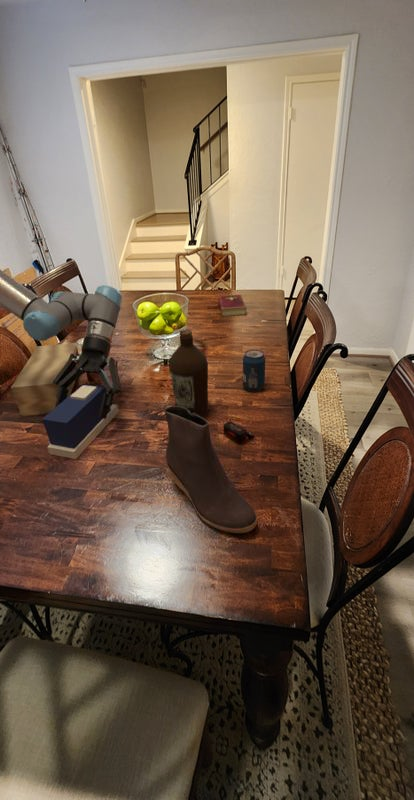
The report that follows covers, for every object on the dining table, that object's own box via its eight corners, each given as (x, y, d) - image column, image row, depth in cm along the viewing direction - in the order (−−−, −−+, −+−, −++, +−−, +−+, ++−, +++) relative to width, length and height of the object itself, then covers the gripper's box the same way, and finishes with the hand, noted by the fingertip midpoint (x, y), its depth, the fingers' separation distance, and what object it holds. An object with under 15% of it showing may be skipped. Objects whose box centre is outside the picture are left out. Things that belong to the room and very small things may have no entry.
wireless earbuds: (242, 446, 94) (242, 436, 93) (222, 435, 99) (222, 425, 97) (254, 438, 97) (254, 428, 95) (234, 427, 101) (234, 417, 100)
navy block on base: (76, 459, 93) (64, 422, 87) (49, 454, 96) (36, 418, 90) (118, 411, 111) (111, 378, 105) (95, 408, 113) (87, 376, 107)
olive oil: (186, 398, 115) (179, 322, 102) (216, 406, 111) (213, 327, 98) (167, 416, 108) (157, 335, 94) (199, 425, 103) (192, 342, 90)
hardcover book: (221, 316, 178) (221, 308, 176) (218, 303, 196) (218, 295, 194) (246, 315, 178) (246, 306, 176) (241, 301, 196) (241, 294, 194)
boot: (237, 550, 69) (236, 469, 58) (157, 486, 84) (145, 413, 73) (266, 522, 74) (270, 444, 63) (186, 467, 89) (178, 395, 78)
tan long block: (21, 416, 112) (10, 387, 106) (45, 371, 137) (37, 346, 132) (69, 411, 113) (60, 382, 108) (83, 367, 138) (77, 342, 133)
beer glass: (91, 387, 124) (80, 346, 116) (82, 380, 129) (72, 340, 121) (109, 380, 128) (101, 340, 120) (100, 374, 133) (92, 334, 125)
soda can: (258, 380, 123) (258, 347, 117) (268, 389, 118) (269, 355, 111) (239, 384, 121) (239, 351, 115) (248, 394, 116) (249, 360, 109)
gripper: (52, 332, 103) (32, 405, 99) (132, 338, 96) (114, 417, 92) (68, 342, 110) (50, 411, 106) (144, 348, 103) (127, 423, 99)
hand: (79, 414), depth 99 cm, fingers open, 13 cm apart
